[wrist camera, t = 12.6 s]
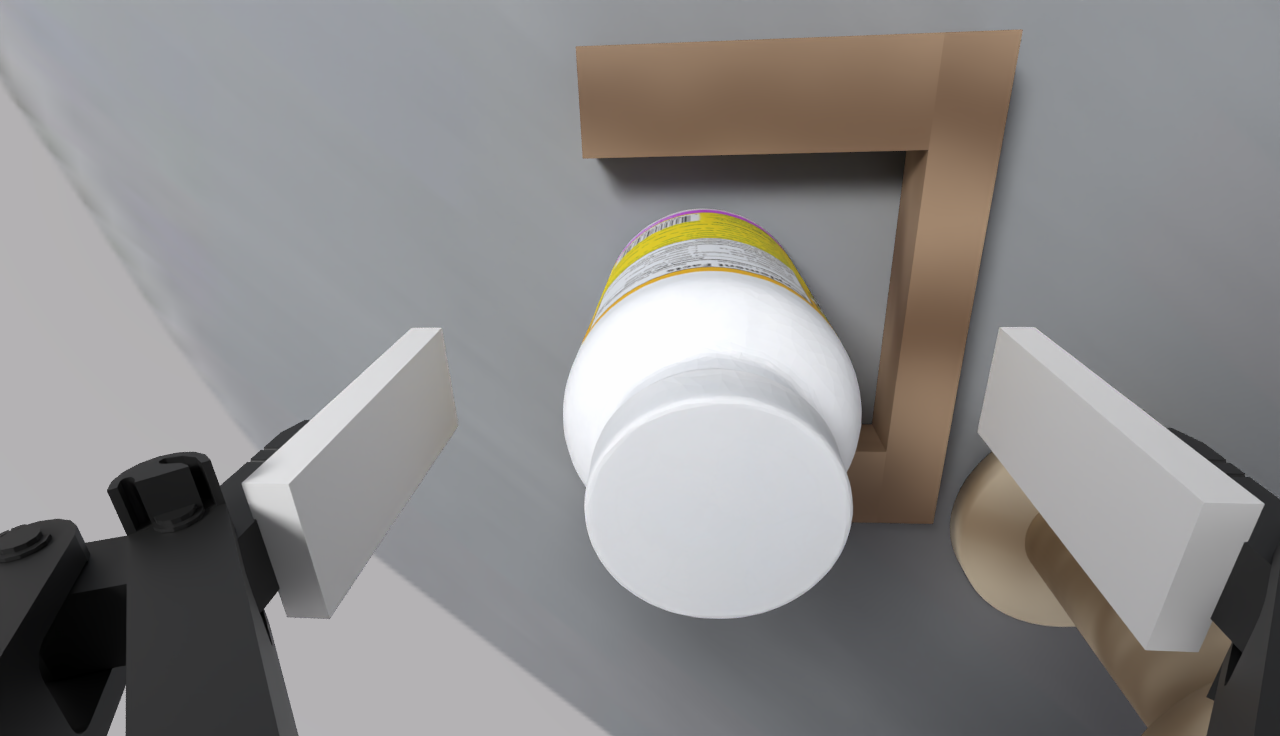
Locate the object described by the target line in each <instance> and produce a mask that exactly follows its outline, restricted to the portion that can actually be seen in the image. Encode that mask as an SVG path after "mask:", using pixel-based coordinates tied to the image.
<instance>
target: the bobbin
mask: <svg viewBox="0 0 1280 736" xmlns="http://www.w3.org/2000/svg"><path fill="white" fill-rule="evenodd" d="M950 538H951V542H952V547H953V550H954V553H955V555H956V557H957V560H958V561H959V563H960V565H961V567H962V569H963V570H964V572H965V574H966V576H967V578H968V579H969V581H970V583H971V584H972V586H973V587H974V589H975V590H976V591H977V592H978V594H979V595H980V596H981V597H982V598H983V599H984V600H985V601H987V602H988V603H989V604H990V605H991V606H993V607H994V608H996V609H998V610H999V611H1001V612H1003V613H1004V614H1006V615H1009V616H1011V617H1013V618H1016V619H1018V620H1022V621H1025V622H1029V623H1033V624H1038V625H1044V626H1055V627H1077V629H1078V630H1079V631H1080V633H1081V634H1082V636H1083V637H1084V639H1085V640H1086V641H1087V643H1088V644H1089V646H1090V647H1091V648H1092V650H1093V651H1094V653H1095V654H1096V656H1097V657H1098V658H1099V660H1100V661H1101V663H1102V664H1103V665H1104V667H1105V668H1106V670H1107V671H1108V672H1109V674H1110V675H1111V677H1112V678H1113V680H1114V681H1115V682H1116V684H1117V685H1118V687H1119V688H1120V689H1121V691H1122V692H1123V694H1124V695H1125V697H1126V698H1127V699H1128V701H1129V702H1130V704H1131V705H1132V706H1133V708H1134V709H1135V711H1136V712H1137V714H1138V715H1139V716H1140V718H1141V719H1142V721H1143V722H1144V723H1145V725H1146V726H1147V729H1146V730H1145V732H1144V733H1143V734H1142V735H1141V736H1206V735H1207V731H1208V726H1209V722H1210V717H1211V713H1212V708H1213V704H1214V701H1213V700H1211V699H1209V698H1207V697H1206V696H1207V694H1208V692H1209V690H1210V688H1211V686H1212V684H1213V681H1214V679H1215V677H1216V675H1217V673H1218V671H1219V669H1220V667H1221V664H1222V662H1223V660H1224V658H1225V656H1226V654H1227V652H1228V650H1229V647H1230V645H1231V643H1232V641H1231V640H1230V639H1229V638H1228V637H1227V636H1226V635H1225V634H1224V633H1223V632H1222V631H1221V630H1220V628H1219V627H1218V626H1217V625H1216V624H1215V623H1214V622H1213V621H1212V623H1211V626H1210V628H1209V630H1208V632H1207V635H1206V637H1205V639H1204V641H1203V644H1202V646H1201V648H1200V650H1199V652H1178V651H1152V650H1145V649H1144V648H1143V647H1142V645H1141V644H1140V643H1139V641H1138V640H1137V639H1136V637H1135V636H1134V635H1133V634H1132V632H1131V631H1130V630H1129V628H1128V627H1127V626H1126V624H1125V623H1124V622H1123V621H1122V619H1121V618H1120V617H1119V615H1118V614H1117V613H1116V611H1115V610H1114V609H1113V608H1112V606H1111V605H1110V604H1109V602H1108V601H1107V600H1106V598H1105V597H1104V596H1103V595H1102V593H1101V592H1100V591H1099V589H1098V588H1097V587H1096V585H1095V584H1094V583H1093V582H1092V580H1091V579H1090V578H1089V576H1088V575H1087V574H1086V572H1085V571H1084V570H1083V569H1082V567H1081V566H1080V565H1079V563H1078V562H1077V561H1076V560H1075V558H1074V557H1073V556H1072V554H1071V553H1070V552H1069V550H1068V549H1067V548H1066V547H1065V545H1064V544H1063V543H1062V541H1061V540H1060V539H1059V537H1058V536H1057V535H1056V534H1055V532H1054V531H1053V530H1052V528H1051V527H1050V526H1049V524H1048V523H1047V522H1046V521H1045V519H1044V518H1043V517H1042V515H1041V514H1040V513H1039V511H1038V510H1037V509H1036V508H1035V506H1034V505H1033V504H1032V502H1031V501H1030V500H1029V498H1028V497H1027V496H1026V495H1025V493H1024V492H1023V491H1022V489H1021V488H1020V487H1019V485H1018V484H1017V483H1016V482H1015V480H1014V479H1013V478H1012V476H1011V475H1010V474H1009V472H1008V471H1007V470H1006V469H1005V467H1004V466H1003V465H1002V463H1001V462H1000V461H999V460H998V458H997V457H996V456H995V454H994V453H993V452H991V453H990V454H988V455H987V456H986V457H985V458H984V459H983V460H982V461H981V462H980V463H979V464H978V465H977V466H976V467H975V469H974V470H973V471H972V472H971V474H970V475H969V476H968V477H967V479H966V481H965V482H964V484H963V485H962V487H961V489H960V491H959V493H958V495H957V497H956V500H955V502H954V506H953V509H952V513H951V520H950Z"/></svg>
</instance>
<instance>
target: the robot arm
mask: <svg viewBox="0 0 1280 736" xmlns="http://www.w3.org/2000/svg"><path fill="white" fill-rule="evenodd" d="M457 427H458V420H457V414H456V408H455V402H454V397H453V391H452V385H451V379H450V373H449V367H448V361H447V355H446V349H445V343H444V338H443V332H442V328H411V329H410V330H409V331H408V332H407V333H406V334H405V335H403V336H402V337H401V338H400V339H399V340H398V341H397V342H396V343H395V344H394V345H392V346H391V347H390V348H389V349H388V350H387V351H386V352H385V353H384V354H383V355H381V356H380V357H379V358H378V359H377V360H376V361H375V362H374V363H373V364H372V365H371V366H369V367H368V368H367V369H366V370H365V371H364V372H363V373H362V374H361V375H360V376H358V377H357V378H356V379H355V380H354V381H353V382H352V383H351V384H350V385H349V386H348V387H346V388H345V389H344V390H343V391H342V392H341V393H340V394H339V395H338V396H337V397H335V398H334V399H333V400H332V401H331V402H330V403H329V404H328V405H327V406H326V407H324V408H323V409H322V410H321V411H320V412H319V413H318V414H317V415H316V416H315V417H314V418H312V419H311V420H304V421H302V422H300V423H298V424H296V425H295V426H293V427H291V428H289V429H287V430H285V431H283V432H281V433H280V434H279V435H278V436H276V437H275V438H274V439H273V440H272V441H271V442H270V443H268V444H267V445H266V446H265V447H264V450H260V451H259V452H258V453H257V454H256V455H255V456H254V457H252V458H251V462H247V463H246V464H245V465H243V466H242V467H241V468H240V469H239V470H238V471H237V472H236V473H234V474H233V475H232V476H231V477H230V478H229V479H227V480H226V481H225V482H224V483H223V484H222V485H221V486H220V485H219V483H218V480H217V477H216V475H215V472H214V469H213V466H212V463H211V461H210V459H209V458H208V457H207V456H206V455H205V454H201V453H197V452H180V453H173V454H169V455H164V456H159V457H156V458H153V459H151V460H148V461H145V462H142V463H140V464H138V465H136V466H134V467H132V468H130V469H128V470H126V471H125V472H123V473H121V475H119V476H118V477H117V478H115V479H114V480H113V481H112V482H111V484H110V486H109V488H108V489H107V492H108V494H109V496H110V498H111V501H112V503H113V505H114V507H115V510H116V512H117V514H118V516H119V519H120V521H121V523H122V525H123V527H124V530H125V532H126V534H127V536H123V537H118V538H111V539H105V540H99V541H94V542H88V543H85V542H84V540H83V538H82V536H81V534H80V532H79V530H78V528H77V526H76V525H75V524H74V523H73V522H72V521H70V520H62V519H53V520H45V521H39V522H35V523H31V524H28V525H20V526H17V527H15V528H12V529H11V531H9V530H7V531H5V532H3V533H1V534H0V736H107V734H108V731H109V728H110V725H111V723H112V720H113V718H114V715H115V712H116V710H117V707H118V704H119V701H120V699H121V696H122V694H123V691H124V688H125V686H126V736H298V732H297V729H296V725H295V721H294V717H293V713H292V709H291V705H290V702H289V698H288V694H287V690H286V686H285V682H284V678H283V675H282V671H281V667H280V663H279V659H278V656H277V652H276V648H275V644H274V640H273V636H272V633H271V628H270V625H269V622H268V619H267V616H266V613H265V610H264V608H265V607H266V605H267V604H268V603H269V602H270V600H271V599H272V598H273V596H274V595H275V594H276V593H277V591H278V592H279V594H280V597H281V600H282V603H283V606H284V609H285V612H286V615H287V617H295V618H321V619H330V618H331V616H332V615H333V613H334V612H335V610H336V609H337V607H338V606H339V604H340V603H341V601H342V600H343V598H344V597H345V595H346V594H347V592H348V591H349V589H350V588H351V586H352V585H353V583H354V581H355V580H356V579H357V577H358V576H359V574H360V573H361V571H362V570H363V568H364V567H365V565H366V564H367V562H368V561H369V559H370V558H371V556H372V555H373V553H374V552H375V550H376V549H377V547H378V546H379V544H380V543H381V541H382V540H383V538H384V537H385V535H386V534H387V532H388V531H389V529H390V528H391V526H392V525H393V523H394V522H395V520H396V519H397V517H398V516H399V514H400V513H401V511H402V510H403V508H404V507H405V505H406V504H407V502H408V501H409V499H410V498H411V496H412V495H413V493H414V492H415V490H416V489H417V487H418V486H419V484H420V483H421V481H422V480H423V478H424V477H425V475H426V474H427V472H428V471H429V469H430V468H431V466H432V465H433V463H434V462H435V460H436V459H437V457H438V456H439V454H440V453H441V451H442V450H443V448H444V447H445V445H446V444H447V442H448V441H449V439H450V438H451V436H452V435H453V433H454V432H455V430H456V429H457ZM977 432H978V434H979V435H980V436H981V437H982V439H983V440H984V441H985V443H986V444H987V445H988V447H989V448H990V449H991V450H992V452H993V453H994V454H995V456H996V457H997V458H998V460H999V461H1000V462H1001V463H1002V465H1003V466H1004V467H1005V469H1006V470H1007V471H1008V472H1009V474H1010V475H1011V476H1012V478H1013V479H1014V480H1015V482H1016V483H1017V484H1018V485H1019V487H1020V488H1021V489H1022V491H1023V492H1024V493H1025V495H1026V496H1027V497H1028V498H1029V500H1030V501H1031V502H1032V504H1033V505H1034V506H1035V508H1036V509H1037V510H1038V511H1039V513H1040V514H1041V515H1042V517H1043V518H1044V519H1045V521H1046V522H1047V523H1048V524H1049V526H1050V527H1051V528H1052V530H1053V531H1054V532H1055V534H1056V535H1057V536H1058V537H1059V539H1060V540H1061V541H1062V543H1063V544H1064V545H1065V547H1066V548H1067V549H1068V550H1069V552H1070V553H1071V554H1072V556H1073V557H1074V558H1075V560H1076V561H1077V562H1078V563H1079V565H1080V566H1081V567H1082V569H1083V570H1084V571H1085V572H1086V574H1087V575H1088V576H1089V578H1090V579H1091V580H1092V582H1093V583H1094V584H1095V585H1096V587H1097V588H1098V589H1099V591H1100V592H1101V593H1102V595H1103V596H1104V597H1105V598H1106V600H1107V601H1108V602H1109V604H1110V605H1111V606H1112V608H1113V609H1114V610H1115V611H1116V613H1117V614H1118V615H1119V617H1120V618H1121V619H1122V621H1123V622H1124V623H1125V624H1126V626H1127V627H1128V628H1129V630H1130V631H1131V632H1132V634H1133V635H1134V636H1135V637H1136V639H1137V640H1138V641H1139V643H1140V644H1141V645H1142V647H1143V648H1144V649H1145V650H1152V651H1178V652H1199V650H1200V648H1201V646H1202V644H1203V641H1204V639H1205V637H1206V635H1207V632H1208V630H1209V628H1210V626H1211V623H1212V621H1213V622H1214V623H1215V624H1216V625H1217V626H1218V627H1219V628H1220V630H1221V631H1222V632H1223V633H1224V634H1225V635H1226V636H1227V637H1228V638H1229V639H1230V640H1231V641H1232V643H1231V645H1230V647H1229V650H1228V652H1227V654H1226V656H1225V658H1224V660H1223V662H1222V664H1221V667H1220V669H1219V671H1218V673H1217V675H1216V677H1215V679H1214V681H1213V684H1212V686H1211V688H1210V690H1209V692H1208V694H1207V696H1206V697H1207V698H1209V699H1211V700H1213V701H1214V704H1213V708H1212V713H1211V717H1210V722H1209V726H1208V731H1207V735H1206V736H1280V499H1278V498H1277V497H1276V496H1274V495H1273V494H1272V493H1270V492H1269V491H1268V490H1266V489H1265V488H1264V487H1262V486H1261V485H1259V484H1258V483H1257V482H1255V481H1254V480H1253V479H1251V478H1250V477H1245V473H1243V472H1242V471H1241V470H1239V469H1238V468H1237V467H1235V466H1234V465H1232V464H1231V463H1226V459H1224V458H1223V457H1222V456H1220V455H1219V454H1218V453H1216V452H1215V451H1214V450H1212V449H1211V448H1210V447H1208V446H1207V445H1205V444H1204V443H1203V442H1200V441H1198V440H1196V439H1194V438H1192V437H1190V436H1187V435H1185V434H1183V433H1181V432H1179V431H1177V430H1175V429H1172V428H1165V427H1164V426H1163V425H1161V424H1160V423H1159V422H1157V421H1156V420H1155V419H1153V418H1152V417H1151V416H1150V415H1148V414H1147V413H1146V412H1144V411H1143V410H1142V409H1140V408H1139V407H1138V406H1137V405H1135V404H1134V403H1133V402H1131V401H1130V400H1129V399H1127V398H1126V397H1125V396H1124V395H1122V394H1121V393H1120V392H1118V391H1117V390H1116V389H1114V388H1113V387H1112V386H1111V385H1109V384H1108V383H1107V382H1105V381H1104V380H1103V379H1101V378H1100V377H1099V376H1098V375H1096V374H1095V373H1094V372H1092V371H1091V370H1090V369H1088V368H1087V367H1086V366H1085V365H1083V364H1082V363H1081V362H1079V361H1078V360H1077V359H1075V358H1074V357H1073V356H1071V355H1070V354H1069V353H1068V352H1066V351H1065V350H1064V349H1062V348H1061V347H1060V346H1058V345H1057V344H1056V343H1055V342H1053V341H1052V340H1051V339H1049V338H1048V337H1047V336H1045V335H1044V334H1043V333H1042V332H1040V331H1039V330H1038V329H1036V328H1035V327H999V331H998V336H997V341H996V346H995V350H994V355H993V360H992V365H991V369H990V374H989V379H988V384H987V388H986V393H985V398H984V402H983V407H982V412H981V417H980V421H979V426H978V431H977Z"/></svg>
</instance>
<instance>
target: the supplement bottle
mask: <svg viewBox="0 0 1280 736" xmlns="http://www.w3.org/2000/svg"><path fill="white" fill-rule="evenodd" d="M861 416H862V407H861V397H860V390H859V385H858V381H857V377H856V374H855V371H854V368H853V365H852V362H851V360H850V358H849V356H848V354H847V352H846V350H845V348H844V347H843V345H842V343H841V341H840V339H839V338H838V336H837V334H836V333H835V331H834V330H833V328H832V326H831V325H830V323H829V322H828V320H827V318H826V317H825V315H824V314H823V312H822V311H821V309H820V307H819V306H818V304H817V303H816V301H815V299H814V297H813V296H812V294H811V293H810V291H809V289H808V287H807V286H806V284H805V282H804V281H803V279H802V278H801V276H800V274H799V273H798V271H797V269H796V268H795V266H794V264H793V263H792V261H791V260H790V258H789V257H788V255H787V254H786V252H785V251H784V249H783V248H782V247H781V245H780V244H779V243H778V242H777V241H776V239H775V238H774V237H773V236H772V235H771V234H770V233H769V232H767V231H766V230H765V229H764V228H762V227H761V226H759V225H758V224H757V223H755V222H753V221H751V220H749V219H748V218H745V217H743V216H740V215H738V214H735V213H731V212H727V211H723V210H717V209H691V210H684V211H680V212H677V213H673V214H670V215H667V216H665V217H663V218H661V219H659V220H657V221H655V222H653V223H652V224H650V225H648V226H647V227H646V228H644V229H643V230H642V231H641V232H639V233H638V234H637V235H636V236H635V237H634V238H633V239H632V240H631V241H630V242H629V243H628V244H627V246H626V247H625V248H624V250H623V251H622V252H621V254H620V256H619V257H618V259H617V261H616V263H615V265H614V267H613V269H612V272H611V274H610V276H609V279H608V282H607V284H606V286H605V289H604V291H603V294H602V296H601V299H600V301H599V303H598V306H597V308H596V311H595V313H594V316H593V318H592V321H591V323H590V326H589V328H588V330H587V333H586V335H585V337H584V340H583V342H582V344H581V347H580V349H579V351H578V354H577V356H576V358H575V361H574V363H573V366H572V368H571V371H570V374H569V377H568V381H567V385H566V389H565V396H564V405H563V425H564V433H565V439H566V443H567V447H568V450H569V453H570V456H571V459H572V462H573V465H574V467H575V469H576V471H577V473H578V475H579V477H580V479H581V480H582V482H583V483H584V485H585V486H586V492H585V506H584V510H585V519H586V526H587V530H588V534H589V538H590V541H591V543H592V546H593V548H594V550H595V552H596V554H597V556H598V557H599V559H600V561H601V562H602V563H603V565H604V566H605V568H606V569H607V570H608V572H609V573H610V574H611V575H612V576H613V577H614V578H615V579H616V580H617V581H618V583H620V584H621V585H622V586H623V587H625V588H626V589H627V590H629V591H630V592H631V593H633V594H634V595H635V596H637V597H639V598H641V599H642V600H644V601H646V602H648V603H649V604H651V605H654V606H656V607H659V608H662V609H664V610H667V611H670V612H673V613H677V614H681V615H686V616H691V617H698V618H712V619H726V618H740V617H747V616H752V615H756V614H761V613H764V612H768V611H770V610H773V609H776V608H778V607H781V606H783V605H785V604H787V603H789V602H791V601H793V600H795V599H796V598H798V597H799V596H801V595H803V594H804V593H806V592H807V591H808V590H810V589H811V588H812V587H813V586H814V585H816V584H817V583H818V582H819V581H820V580H821V579H822V578H823V577H824V576H825V575H826V574H827V573H828V572H829V570H830V569H831V568H832V566H833V565H834V564H835V562H836V561H837V559H838V558H839V556H840V554H841V552H842V550H843V549H844V546H845V544H846V541H847V538H848V534H849V531H850V528H851V521H852V516H853V499H852V492H851V486H850V482H849V479H848V476H847V473H846V472H847V471H848V469H849V467H850V465H851V462H852V460H853V457H854V455H855V451H856V448H857V444H858V440H859V435H860V430H861Z"/></svg>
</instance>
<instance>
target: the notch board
mask: <svg viewBox="0 0 1280 736" xmlns="http://www.w3.org/2000/svg"><path fill="white" fill-rule="evenodd" d="M1022 31H1023V30H998V31H971V32H945V33H919V34H893V35H867V36H840V37H814V38H788V39H762V40H735V41H709V42H683V43H657V44H631V45H604V46H578V47H576V57H577V73H578V89H579V105H580V121H581V137H582V153H583V158H624V157H665V156H705V155H746V154H787V153H827V152H868V151H906V159H905V167H904V175H903V182H902V190H901V198H900V206H899V214H898V222H897V230H896V238H895V246H894V254H893V262H892V269H891V277H890V285H889V293H888V301H887V309H886V317H885V325H884V333H883V341H882V349H881V356H880V364H879V372H878V380H877V388H876V396H875V404H874V412H873V420H872V424H861V430H860V435H859V440H858V444H857V448H856V451H855V455H854V457H853V460H852V462H851V465H850V467H849V469H848V471H847V472H846V473H847V476H848V479H849V482H850V486H851V492H852V499H853V516H852V521H851V522H858V523H912V524H933V521H934V516H935V510H936V505H937V499H938V494H939V488H940V483H941V477H942V471H943V466H944V460H945V455H946V449H947V444H948V438H949V433H950V427H951V422H952V416H953V411H954V405H955V400H956V394H957V389H958V383H959V378H960V372H961V367H962V361H963V356H964V350H965V345H966V339H967V334H968V328H969V323H970V317H971V312H972V306H973V301H974V295H975V290H976V284H977V279H978V273H979V268H980V262H981V257H982V251H983V246H984V240H985V234H986V229H987V223H988V218H989V212H990V207H991V201H992V196H993V190H994V185H995V179H996V174H997V168H998V163H999V157H1000V152H1001V146H1002V141H1003V135H1004V130H1005V124H1006V119H1007V113H1008V108H1009V102H1010V97H1011V91H1012V86H1013V80H1014V75H1015V69H1016V64H1017V58H1018V53H1019V47H1020V42H1021V36H1022Z"/></svg>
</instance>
